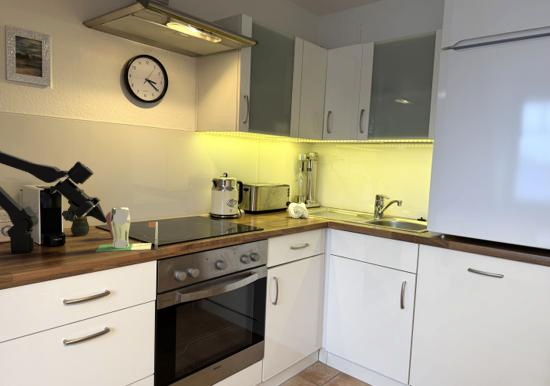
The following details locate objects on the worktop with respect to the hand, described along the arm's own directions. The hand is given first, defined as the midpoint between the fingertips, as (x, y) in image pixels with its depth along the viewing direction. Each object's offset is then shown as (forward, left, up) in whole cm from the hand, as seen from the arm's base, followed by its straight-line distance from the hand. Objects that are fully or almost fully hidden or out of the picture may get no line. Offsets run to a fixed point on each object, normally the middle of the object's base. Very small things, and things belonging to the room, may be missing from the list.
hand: (106, 222), depth 144 cm
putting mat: (+8, -2, -10) cm, 13 cm away
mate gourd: (-6, +31, -10) cm, 33 cm away
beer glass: (+5, -1, -10) cm, 11 cm away
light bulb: (+6, +18, -10) cm, 21 cm away
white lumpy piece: (+114, +34, -10) cm, 119 cm away
